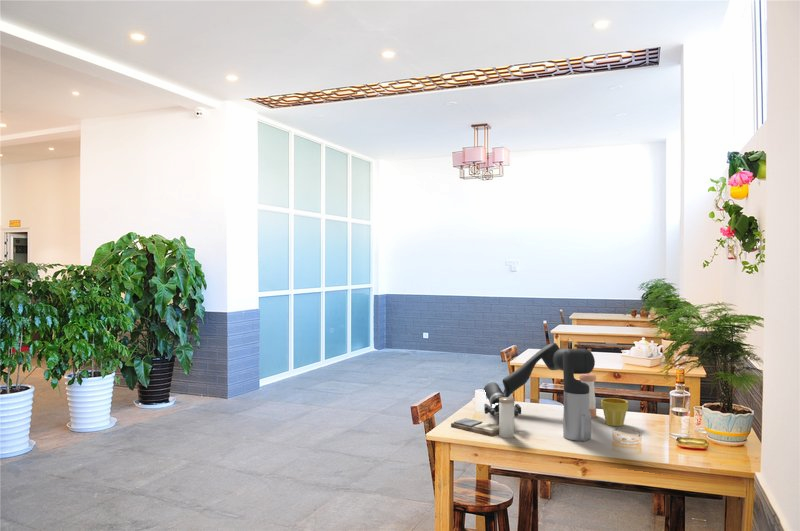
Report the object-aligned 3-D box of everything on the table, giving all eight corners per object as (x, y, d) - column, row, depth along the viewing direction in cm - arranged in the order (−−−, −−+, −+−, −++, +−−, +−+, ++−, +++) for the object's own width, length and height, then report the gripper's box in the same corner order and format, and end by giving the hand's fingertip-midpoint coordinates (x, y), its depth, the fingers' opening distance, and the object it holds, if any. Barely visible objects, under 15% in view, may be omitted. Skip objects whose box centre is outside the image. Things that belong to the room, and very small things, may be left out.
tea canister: (517, 435, 220) (517, 398, 220) (509, 439, 216) (509, 401, 216) (503, 432, 224) (504, 396, 224) (495, 436, 220) (496, 399, 219)
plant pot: (601, 420, 244) (601, 396, 244) (627, 422, 240) (627, 398, 240) (601, 426, 234) (601, 402, 234) (628, 429, 230) (628, 404, 230)
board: (505, 430, 227) (505, 425, 227) (491, 436, 219) (491, 431, 219) (465, 421, 239) (465, 417, 239) (450, 426, 232) (451, 422, 232)
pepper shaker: (594, 413, 254) (594, 369, 254) (598, 417, 247) (598, 373, 247) (577, 413, 255) (577, 369, 255) (580, 417, 247) (580, 372, 247)
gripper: (516, 412, 240) (523, 423, 223) (482, 412, 240) (486, 423, 224) (516, 394, 240) (523, 404, 223) (482, 394, 240) (486, 403, 224)
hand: (504, 413), depth 224 cm, fingers open, 8 cm apart
